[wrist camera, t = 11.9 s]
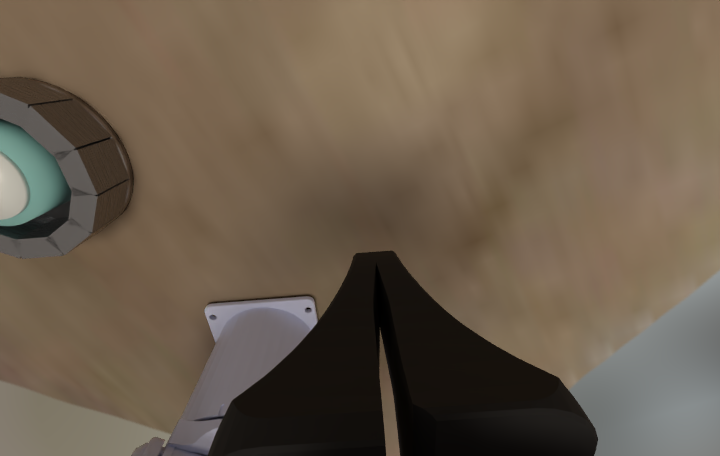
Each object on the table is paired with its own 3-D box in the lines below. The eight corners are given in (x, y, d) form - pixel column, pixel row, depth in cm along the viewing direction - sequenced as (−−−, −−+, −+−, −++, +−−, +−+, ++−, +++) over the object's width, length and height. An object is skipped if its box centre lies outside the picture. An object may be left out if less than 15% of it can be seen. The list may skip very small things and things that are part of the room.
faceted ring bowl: (154, 224, 22) (122, 250, 19) (16, 235, 22) (-37, 263, 19) (95, 71, 18) (42, 73, 15) (-74, 85, 18) (-161, 90, 15)
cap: (101, 197, 20) (56, 222, 17) (21, 207, 20) (-39, 233, 17) (58, 111, 18) (-3, 121, 15) (-32, 122, 18) (-111, 135, 15)
